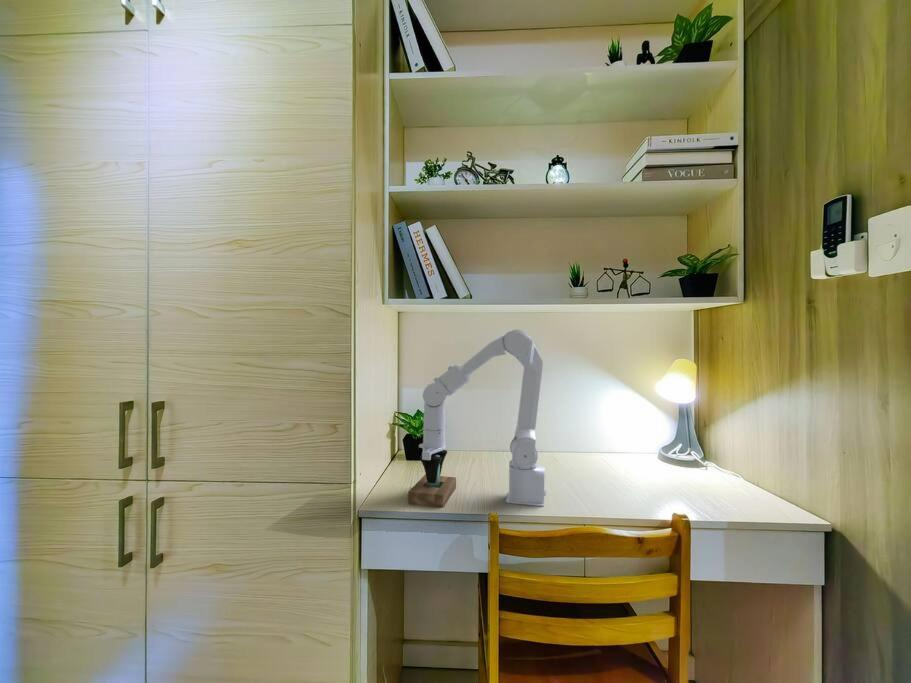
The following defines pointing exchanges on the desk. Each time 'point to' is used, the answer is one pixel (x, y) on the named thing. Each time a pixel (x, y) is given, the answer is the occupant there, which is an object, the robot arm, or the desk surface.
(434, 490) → the hole block
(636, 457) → the desk surface
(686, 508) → the desk surface
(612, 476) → the desk surface
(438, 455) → the peg
